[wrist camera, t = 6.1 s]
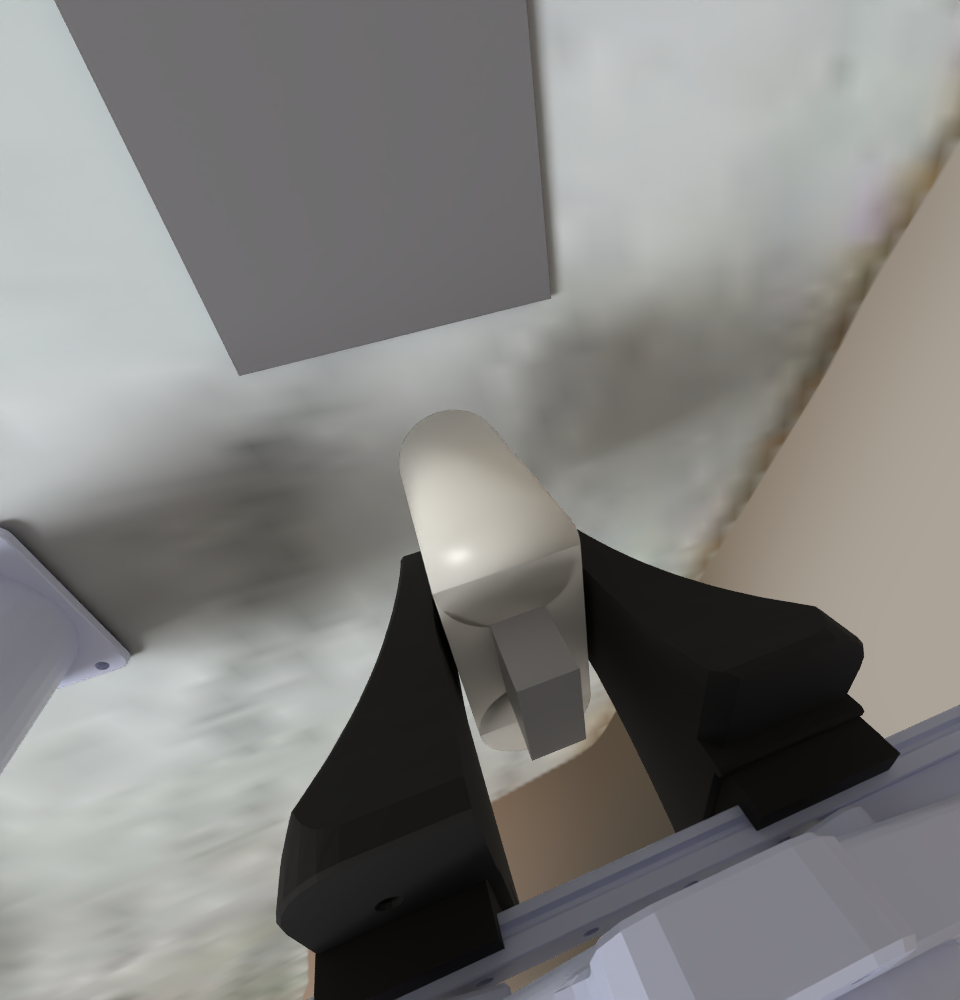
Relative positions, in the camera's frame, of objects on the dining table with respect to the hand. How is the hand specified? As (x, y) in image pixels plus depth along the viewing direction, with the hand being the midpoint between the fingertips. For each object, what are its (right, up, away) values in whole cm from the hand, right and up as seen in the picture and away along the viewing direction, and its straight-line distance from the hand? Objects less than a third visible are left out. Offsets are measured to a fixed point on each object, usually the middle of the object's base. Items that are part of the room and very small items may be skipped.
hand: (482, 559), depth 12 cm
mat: (-4, +12, +1) cm, 13 cm away
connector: (0, +1, +1) cm, 2 cm away
